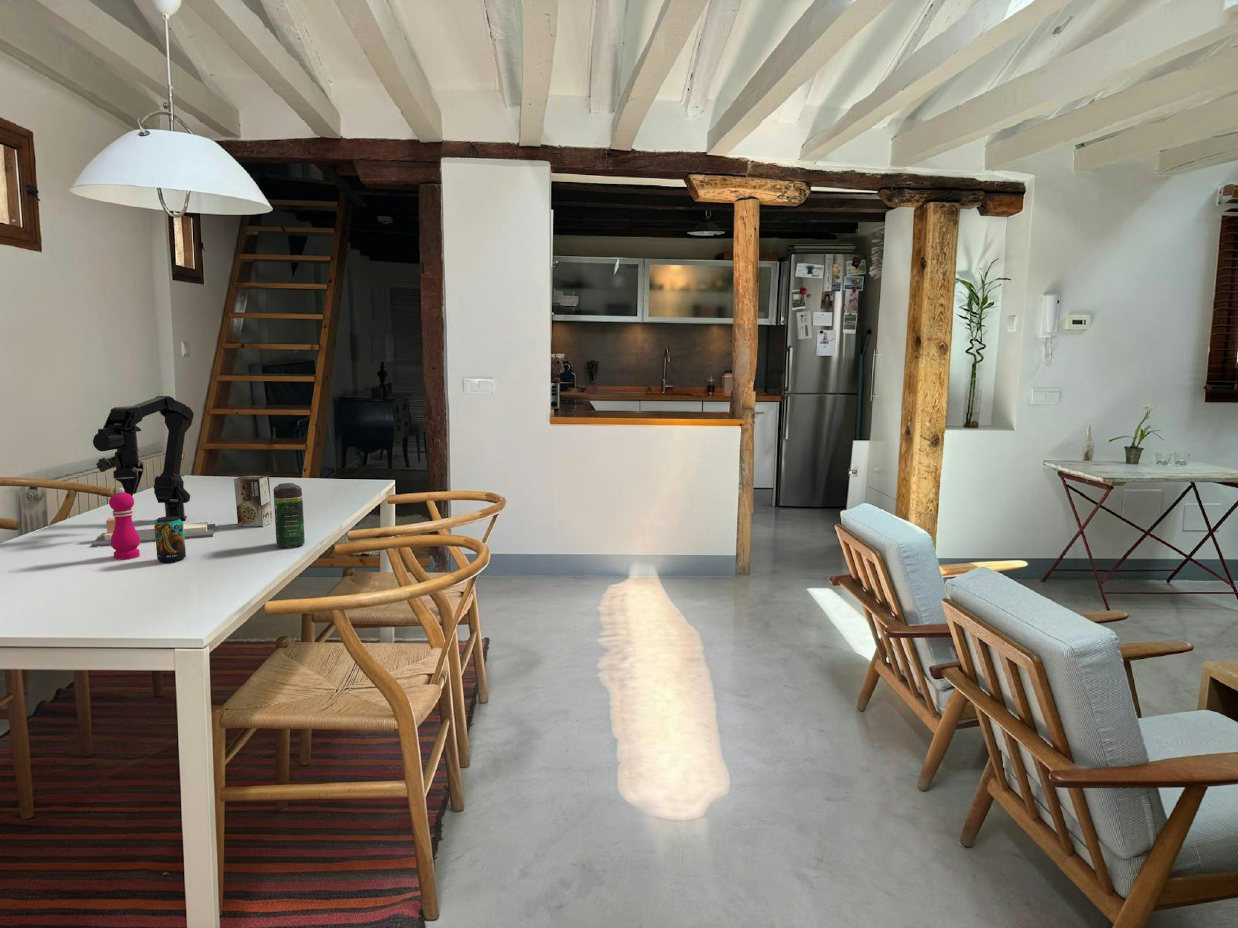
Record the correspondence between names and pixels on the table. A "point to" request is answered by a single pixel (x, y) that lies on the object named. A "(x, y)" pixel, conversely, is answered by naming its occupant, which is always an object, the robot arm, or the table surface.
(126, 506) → the pepper mill
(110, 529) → the stub
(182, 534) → the beverage can
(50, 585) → the table surface
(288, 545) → the coffee jar
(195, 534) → the mat
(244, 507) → the coffee box
